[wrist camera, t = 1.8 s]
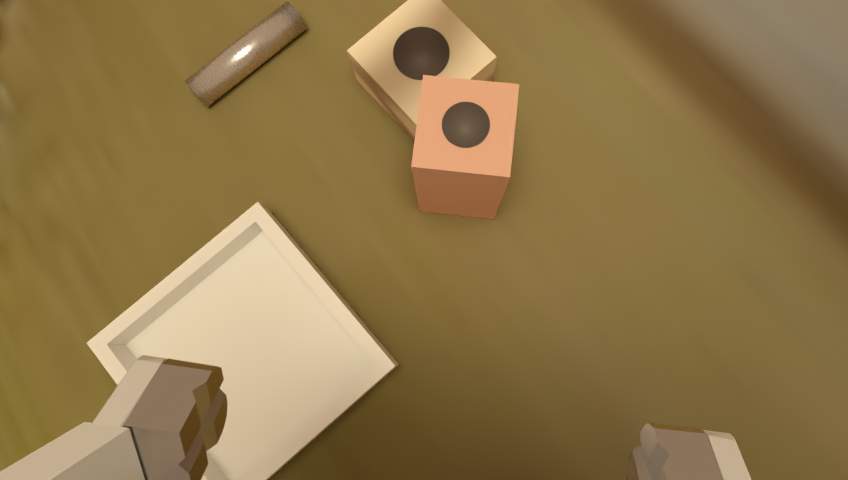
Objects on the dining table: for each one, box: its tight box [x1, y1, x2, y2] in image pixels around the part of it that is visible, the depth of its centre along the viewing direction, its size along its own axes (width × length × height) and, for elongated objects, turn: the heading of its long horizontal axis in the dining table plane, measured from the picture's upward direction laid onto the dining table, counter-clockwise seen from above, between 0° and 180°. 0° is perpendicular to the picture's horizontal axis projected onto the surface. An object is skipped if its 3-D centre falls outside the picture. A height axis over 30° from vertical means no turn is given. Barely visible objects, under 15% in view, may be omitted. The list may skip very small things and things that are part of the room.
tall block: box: [411, 75, 519, 219], centre depth 32 cm, size 4×4×9 cm
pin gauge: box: [185, 1, 307, 107], centre depth 37 cm, size 8×2×2 cm
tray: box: [87, 202, 399, 480], centre depth 33 cm, size 12×12×3 cm
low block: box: [347, 0, 496, 141], centre depth 36 cm, size 6×6×4 cm
